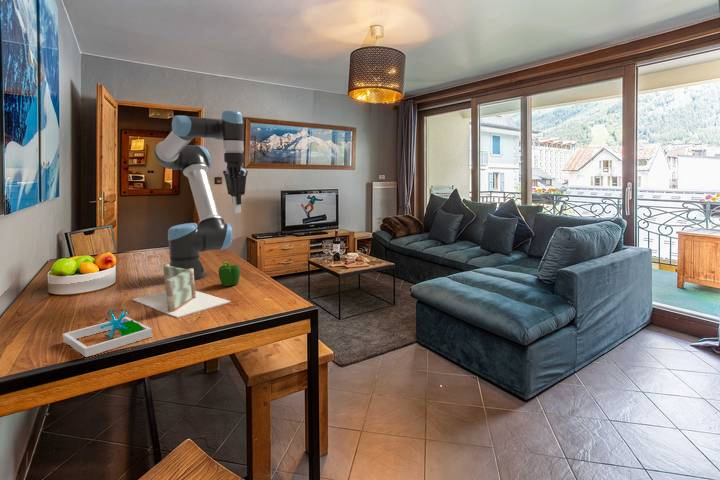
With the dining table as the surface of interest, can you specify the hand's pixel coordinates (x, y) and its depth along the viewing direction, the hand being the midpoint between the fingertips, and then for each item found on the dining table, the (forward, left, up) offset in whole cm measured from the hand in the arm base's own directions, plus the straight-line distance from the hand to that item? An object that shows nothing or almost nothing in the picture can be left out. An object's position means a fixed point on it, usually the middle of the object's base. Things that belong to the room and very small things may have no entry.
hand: (237, 212), depth 154 cm
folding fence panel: (+8, -30, -28) cm, 42 cm away
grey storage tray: (+19, -56, -29) cm, 66 cm away
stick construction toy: (+18, -51, -30) cm, 62 cm away
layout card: (+2, -27, -29) cm, 40 cm away
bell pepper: (-2, -4, -29) cm, 30 cm away
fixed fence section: (-4, -24, -29) cm, 38 cm away
